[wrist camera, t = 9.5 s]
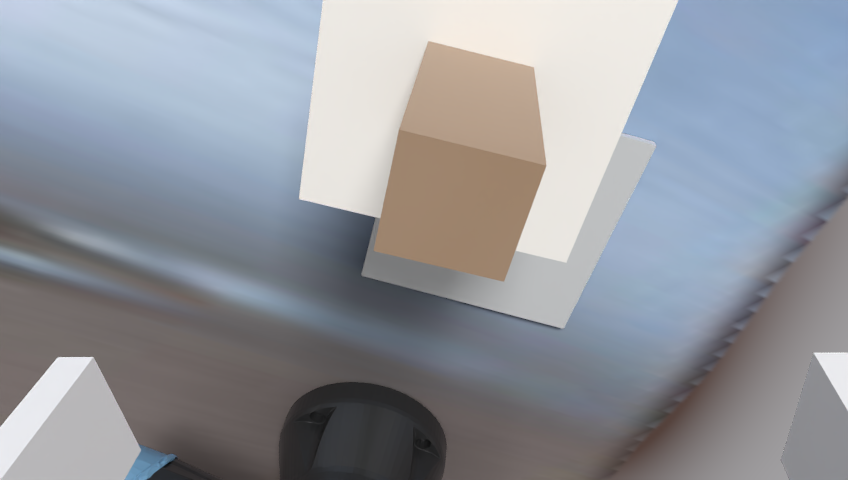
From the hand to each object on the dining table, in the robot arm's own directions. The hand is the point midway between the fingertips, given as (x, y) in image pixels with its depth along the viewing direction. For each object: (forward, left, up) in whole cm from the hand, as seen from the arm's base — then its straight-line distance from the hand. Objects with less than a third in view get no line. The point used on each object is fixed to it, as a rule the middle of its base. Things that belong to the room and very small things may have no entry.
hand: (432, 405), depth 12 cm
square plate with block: (0, 0, -16) cm, 16 cm away
